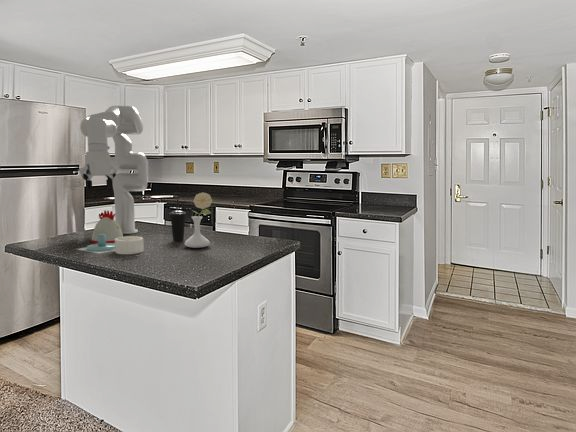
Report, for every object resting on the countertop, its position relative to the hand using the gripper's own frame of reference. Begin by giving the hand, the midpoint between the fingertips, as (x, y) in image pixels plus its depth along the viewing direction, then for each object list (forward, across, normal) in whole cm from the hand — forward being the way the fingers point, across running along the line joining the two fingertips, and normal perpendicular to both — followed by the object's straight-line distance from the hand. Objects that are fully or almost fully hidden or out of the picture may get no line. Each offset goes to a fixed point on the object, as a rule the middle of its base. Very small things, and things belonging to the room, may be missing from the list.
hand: (99, 189), depth 180 cm
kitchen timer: (+26, -13, -14) cm, 33 cm away
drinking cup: (+26, -34, +11) cm, 44 cm away
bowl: (+26, -3, +14) cm, 30 cm away
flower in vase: (+26, -28, +30) cm, 49 cm away
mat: (+26, 0, 0) cm, 26 cm away
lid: (+26, 0, 0) cm, 26 cm away
